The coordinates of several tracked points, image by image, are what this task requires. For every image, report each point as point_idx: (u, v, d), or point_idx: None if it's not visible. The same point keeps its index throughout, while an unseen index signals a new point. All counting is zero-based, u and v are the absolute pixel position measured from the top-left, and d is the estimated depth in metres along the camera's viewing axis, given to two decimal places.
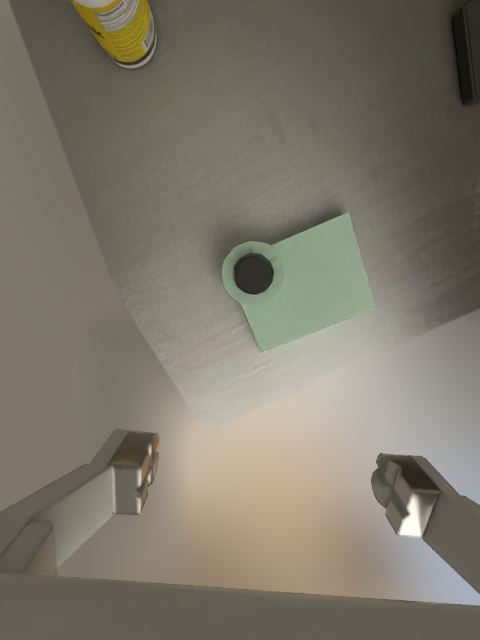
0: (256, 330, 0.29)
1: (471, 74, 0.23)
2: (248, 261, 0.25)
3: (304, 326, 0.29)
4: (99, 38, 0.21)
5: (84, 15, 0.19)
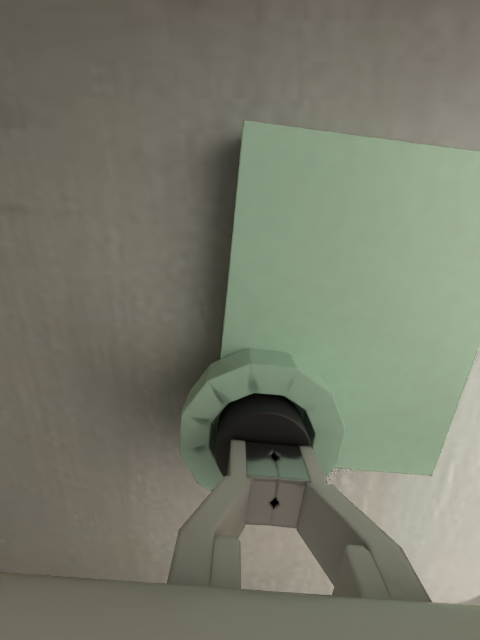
0: (379, 463, 0.12)
1: None
2: (225, 452, 0.09)
3: (446, 365, 0.11)
4: None
5: None
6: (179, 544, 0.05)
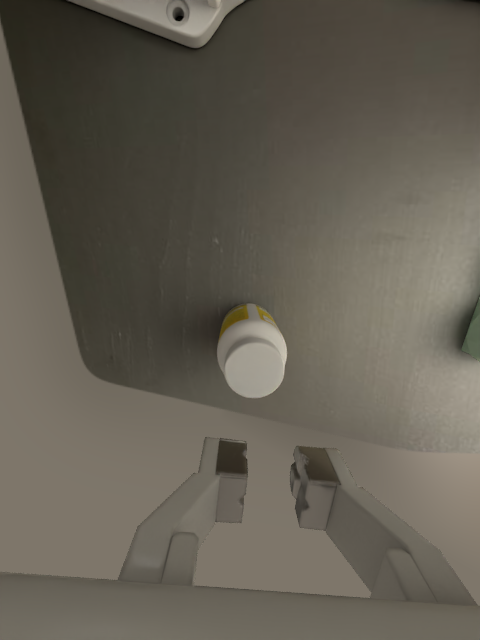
0: None
1: None
2: None
3: None
4: None
5: None
6: (136, 541, 0.05)
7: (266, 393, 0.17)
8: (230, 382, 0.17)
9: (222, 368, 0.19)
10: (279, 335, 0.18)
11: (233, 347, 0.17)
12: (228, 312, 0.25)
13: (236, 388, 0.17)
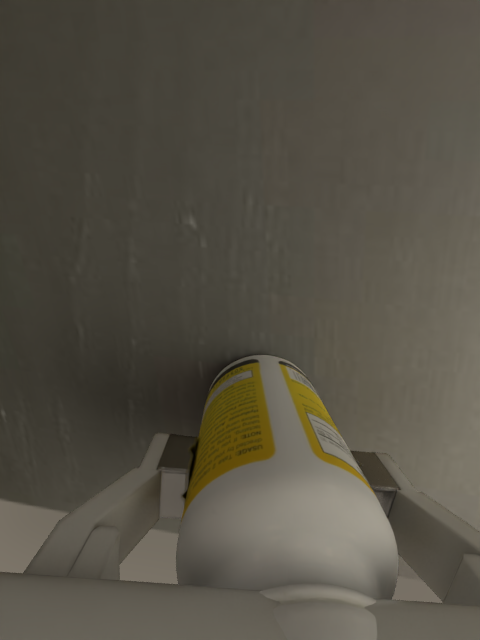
0: None
1: None
2: None
3: None
4: None
5: None
6: (52, 535, 0.05)
7: None
8: None
9: None
10: (382, 524, 0.05)
11: None
12: (219, 374, 0.12)
13: None
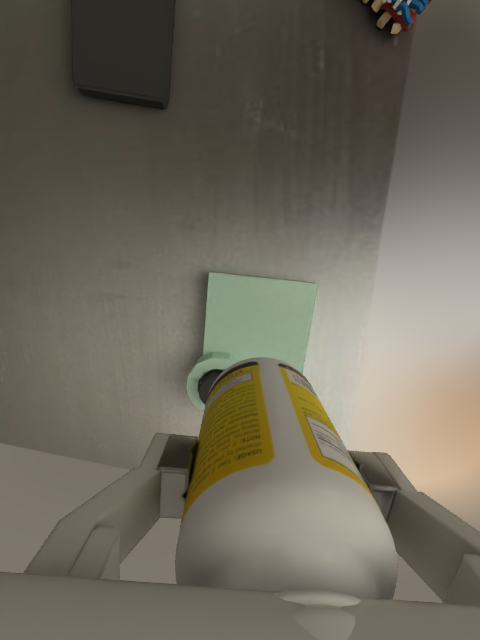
0: None
1: (138, 96, 0.21)
2: (203, 392, 0.25)
3: (294, 358, 0.27)
4: None
5: None
6: (52, 534, 0.05)
7: None
8: None
9: None
10: (381, 529, 0.05)
11: None
12: (219, 377, 0.12)
13: None
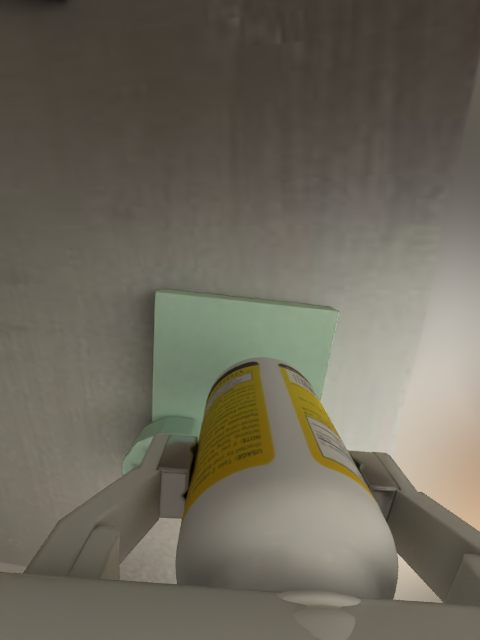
0: None
1: None
2: None
3: None
4: None
5: None
6: (52, 535, 0.05)
7: None
8: None
9: None
10: (382, 529, 0.05)
11: None
12: (219, 377, 0.12)
13: None
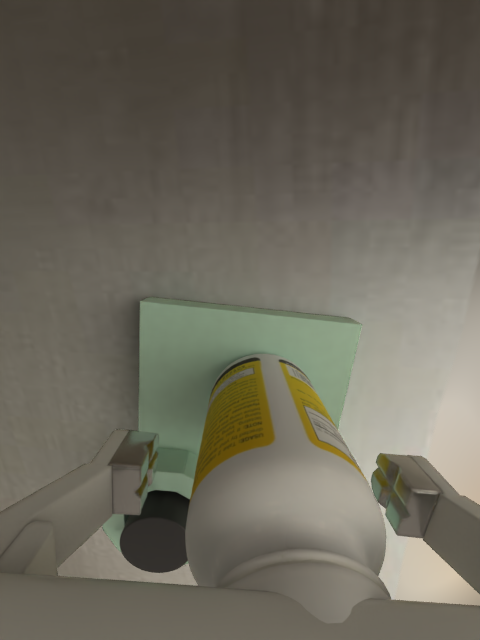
0: None
1: None
2: (127, 544, 0.12)
3: None
4: None
5: None
6: None
7: None
8: None
9: None
10: (371, 503, 0.06)
11: None
12: (223, 372, 0.12)
13: None
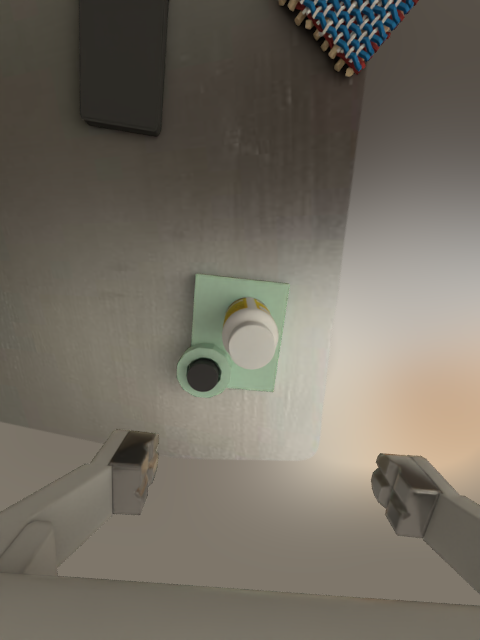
0: (252, 386, 0.33)
1: (135, 127, 0.26)
2: (190, 377, 0.29)
3: None
4: None
5: None
6: None
7: (261, 365, 0.21)
8: (233, 356, 0.21)
9: (226, 348, 0.23)
10: (272, 321, 0.23)
11: (235, 329, 0.21)
12: None
13: (237, 361, 0.21)
